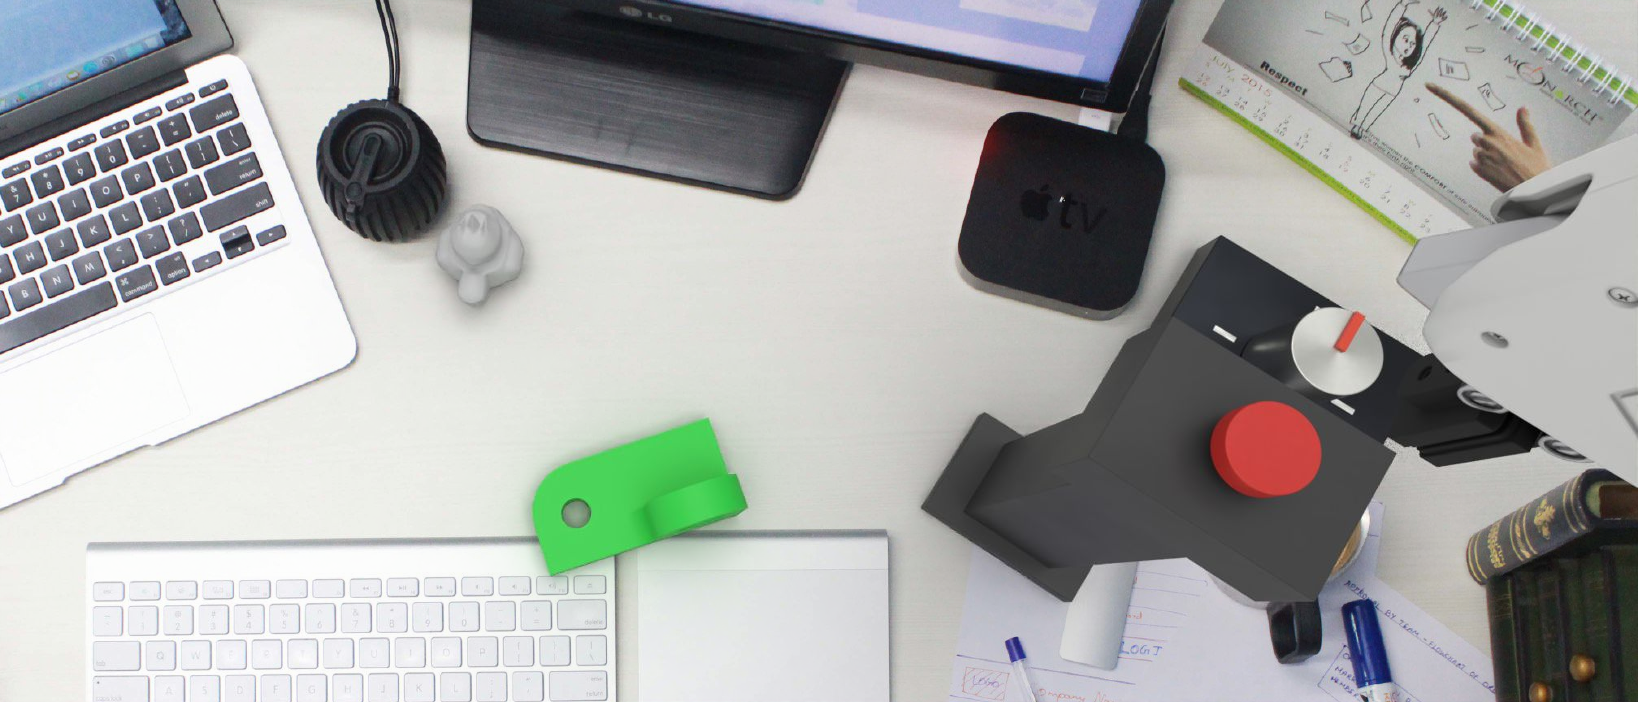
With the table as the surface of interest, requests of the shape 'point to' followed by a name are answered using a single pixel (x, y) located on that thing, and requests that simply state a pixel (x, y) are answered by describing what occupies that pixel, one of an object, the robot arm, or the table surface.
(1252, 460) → the button
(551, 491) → the mechanical part
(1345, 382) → the dial
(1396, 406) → the dial panel
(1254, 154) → the table surface
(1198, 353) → the button stand
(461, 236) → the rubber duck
